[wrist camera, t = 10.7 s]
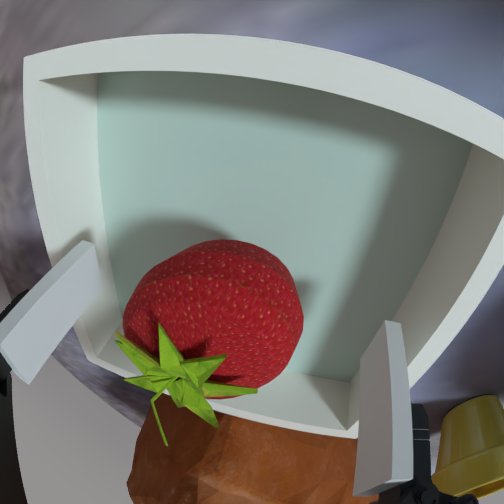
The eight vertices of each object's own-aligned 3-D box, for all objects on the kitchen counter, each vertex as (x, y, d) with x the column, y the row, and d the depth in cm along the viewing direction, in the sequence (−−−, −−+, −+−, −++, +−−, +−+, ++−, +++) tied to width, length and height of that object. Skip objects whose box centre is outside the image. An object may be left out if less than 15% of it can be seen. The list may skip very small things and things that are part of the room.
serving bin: (95, 49, 12) (24, 57, 8) (490, 121, 10) (552, 151, 6) (118, 316, 23) (88, 360, 19) (358, 382, 21) (355, 438, 17)
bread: (290, 466, 36) (270, 551, 24) (148, 391, 31) (96, 498, 19) (396, 444, 27) (387, 555, 15) (244, 346, 22) (177, 541, 10)
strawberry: (339, 268, 15) (323, 472, 6) (225, 319, 18) (155, 467, 10) (270, 167, 13) (148, 326, 5) (161, 243, 16) (40, 376, 8)
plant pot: (513, 367, 17) (535, 463, 9) (514, 406, 20) (526, 480, 12) (414, 411, 22) (415, 505, 14) (437, 439, 25) (438, 511, 17)
